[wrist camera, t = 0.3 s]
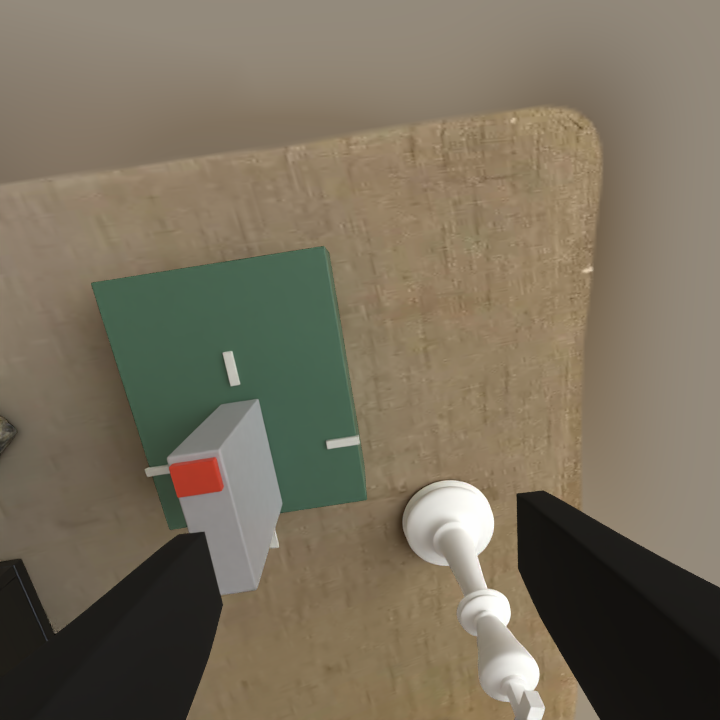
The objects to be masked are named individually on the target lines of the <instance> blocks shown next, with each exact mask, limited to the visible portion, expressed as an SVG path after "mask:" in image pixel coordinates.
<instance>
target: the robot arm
mask: <svg viewBox="0 0 720 720" xmlns="http://www.w3.org/2000/svg"><path fill="white" fill-rule="evenodd" d="M517 536H518V569H519V572H520V574H521V576H522V579H523V581H524V583H525V585H526V588H527V590H528V592H529V594H530V596H531V599H532V601H533V603H534V605H535V607H536V609H537V611H538V613H539V616H540V618H541V619H542V621H543V623H544V625H545V626H546V628H547V630H548V632H549V633H550V635H551V637H552V639H553V640H554V642H555V644H556V645H557V647H558V649H559V651H560V652H561V654H562V656H563V657H564V659H565V661H566V663H567V664H568V666H569V668H570V669H571V671H572V673H573V674H574V676H575V678H576V680H577V681H578V683H579V685H580V686H581V688H582V690H583V691H584V693H585V695H586V696H587V698H588V700H589V702H590V703H591V705H592V707H593V708H594V710H595V712H596V713H597V715H598V717H599V718H600V720H720V588H719V587H718V586H716V585H714V584H712V583H710V582H708V581H706V580H704V579H702V578H700V577H698V576H696V575H694V574H692V573H690V572H688V571H687V570H685V569H683V568H681V567H679V566H677V565H675V564H673V563H671V562H670V561H668V560H666V559H664V558H662V557H660V556H658V555H657V554H655V553H653V552H651V551H649V550H648V549H646V548H644V547H642V546H640V545H639V544H637V543H635V542H633V541H631V540H630V539H628V538H626V537H624V536H623V535H621V534H619V533H617V532H616V531H614V530H612V529H610V528H609V527H607V526H605V525H603V524H602V523H600V522H598V521H596V520H595V519H593V518H591V517H590V516H588V515H586V514H584V513H583V512H581V511H579V510H578V509H576V508H574V507H572V506H571V505H569V504H567V503H565V502H564V501H562V500H560V499H558V498H556V497H555V496H553V495H551V494H549V493H547V492H545V491H535V492H527V493H518V494H517ZM222 606H223V603H222V599H221V595H220V591H219V587H218V583H217V579H216V575H215V571H214V567H213V563H212V559H211V555H210V551H209V547H208V543H207V539H206V535H205V531H204V532H196V533H187V534H179V535H177V536H176V537H174V538H173V539H172V540H170V541H169V542H168V543H166V544H165V545H164V546H163V547H161V548H160V549H159V550H158V551H156V552H155V553H154V554H153V555H152V556H150V557H149V558H148V559H147V560H145V561H144V562H143V563H142V564H141V565H140V566H138V567H137V568H136V569H135V570H134V571H132V572H131V573H130V574H129V575H128V576H126V577H125V578H124V579H123V580H122V581H120V582H119V583H118V584H117V585H116V586H114V587H113V588H112V589H111V590H110V591H108V592H107V593H106V594H105V595H104V596H102V597H101V598H100V599H99V600H98V601H96V602H95V603H94V604H93V605H92V606H90V607H89V608H88V609H87V610H86V611H84V612H83V613H82V614H81V615H79V616H78V617H77V618H76V619H75V620H73V621H72V622H71V623H69V624H68V625H67V626H66V627H64V628H63V629H62V630H61V631H59V632H58V633H57V634H56V635H54V636H53V637H52V638H50V639H49V640H48V641H47V642H45V643H44V644H43V645H42V646H40V647H39V648H38V649H37V650H35V651H34V652H33V653H32V654H30V655H29V656H28V657H26V658H25V659H24V660H23V661H21V662H20V663H19V664H18V665H16V666H15V667H14V668H13V669H11V670H10V671H9V672H7V673H6V674H5V675H3V676H2V677H1V678H0V720H186V717H187V715H188V712H189V710H190V707H191V704H192V702H193V699H194V696H195V694H196V691H197V688H198V686H199V683H200V680H201V678H202V675H203V672H204V670H205V667H206V664H207V661H208V659H209V655H210V652H211V648H212V644H213V641H214V637H215V634H216V630H217V626H218V622H219V618H220V614H221V610H222Z"/></svg>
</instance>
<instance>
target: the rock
mask: <svg viewBox="0 0 720 720" xmlns="http://www.w3.org/2000/svg"><path fill="white" fill-rule="evenodd" d="M16 432H17V430H16V429H15V428H14V427H13V426H12V425H10V424H9V423H8V422H7V420H6V419H5V418H3V417H1V416H0V455H1V453H2V452H3V450H4V449H5V448H6V447H7V446H8V445H9V444H10V443H11V441H12V439H13V437H14V436H15V434H16Z"/></svg>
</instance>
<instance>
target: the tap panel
mask: <svg viewBox="0 0 720 720" xmlns="http://www.w3.org/2000/svg"><path fill="white" fill-rule="evenodd" d="M91 285H92V289H93V292H94V295H95V298H96V301H97V304H98V307H99V310H100V314H101V317H102V320H103V323H104V326H105V329H106V332H107V336H108V339H109V342H110V345H111V348H112V351H113V354H114V357H115V361H116V364H117V367H118V370H119V373H120V376H121V379H122V382H123V386H124V389H125V392H126V395H127V398H128V401H129V404H130V408H131V411H132V414H133V417H134V420H135V423H136V426H137V429H138V433H139V436H140V439H141V442H142V445H143V448H144V451H145V455H146V458H147V461H148V464H149V468H146V469H145V472H146V475H147V477H150V476H153V480H154V483H155V486H156V489H157V492H158V495H159V498H160V502H161V505H162V508H163V511H164V514H165V517H166V520H167V523H168V527H169V529H170V530H173V529H179V528H186V527H187V524H186V521H185V518H184V514H183V511H182V508H181V504H180V501H179V498H178V497H177V494H176V491H175V487H174V484H173V481H172V478H171V474H170V471H169V465H168V462H167V457H168V456H169V455H170V454H171V453H172V452H173V451H174V450H175V449H176V448H177V447H178V446H179V445H180V444H181V443H182V442H183V441H184V440H185V439H186V438H187V437H188V436H189V435H190V434H191V433H192V432H193V431H194V430H195V429H197V428H198V427H199V426H200V425H201V424H202V423H203V422H204V421H205V420H206V419H207V418H208V417H209V416H210V415H211V414H212V413H213V412H214V411H215V410H216V409H217V408H218V407H219V406H220V405H221V404H227V403H233V402H240V401H246V400H253V399H258V400H259V404H260V408H261V412H262V417H263V421H264V425H265V430H266V434H267V438H268V443H269V447H270V451H271V456H272V460H273V464H274V469H275V473H276V477H277V482H278V486H279V490H280V495H281V499H282V503H283V504H282V507H281V510H280V513H284V512H291V511H298V510H304V509H311V508H317V507H324V506H330V505H337V504H343V503H350V502H357V501H363V500H367V492H366V479H365V466H364V460H363V454H362V448H361V442H360V436H359V430H358V424H357V418H356V412H355V406H354V400H353V394H352V388H351V382H350V376H349V370H348V363H347V357H346V351H345V345H344V339H343V333H342V327H341V321H340V315H339V309H338V303H337V297H336V291H335V285H334V279H333V273H332V267H331V261H330V255H329V252H328V251H327V249H326V248H325V247H324V246H321V247H315V248H308V249H302V250H296V251H289V252H283V253H277V254H270V255H264V256H258V257H251V258H245V259H239V260H232V261H226V262H220V263H213V264H207V265H201V266H194V267H188V268H182V269H175V270H169V271H163V272H156V273H150V274H144V275H137V276H131V277H125V278H119V279H112V280H106V281H100V282H93V283H91ZM270 547H271V549H272V548H278V547H279V543H278V539H277V535H276V530H275V531H274V534H273V537H272V541H271V544H270Z"/></svg>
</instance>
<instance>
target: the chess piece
mask: <svg viewBox="0 0 720 720" xmlns="http://www.w3.org/2000/svg"><path fill="white" fill-rule="evenodd" d="M493 530H494V518H493V514H492V511H491V509H490V505H489V503H488V501H487V499H486V498H485V496H484V495H483V494H482V493H481V492H480V491H479V490H478V489H477V488H475V487H474V486H472V485H470V484H468V483H465V482H461V481H455V480H446V481H439V482H435V483H432V484H430V485H428V486H426V487H424V488H422V489H421V490H420V491H418V492H417V493H416V494H415V495H414V496H413V497H412V498H411V499H410V501H409V502H408V504H407V506H406V508H405V511H404V514H403V531H404V534H405V536H406V538H407V541H408V543H409V545H410V547H411V548H412V550H413V551H414V552H415V553H416V554H417V555H418V556H419V557H420V558H422V559H423V560H425V561H427V562H430V563H432V564H436V565H442V566H450V568H451V570H452V572H453V574H454V576H455V578H456V580H457V582H458V584H459V586H460V588H461V590H462V592H463V594H464V596H465V597H464V598H463V599H462V600H461V601H460V603H459V605H458V608H457V618H458V621H459V622H460V624H461V625H462V627H463V628H464V629H465V631H467V632H468V633H469V634H471V635H474V636H477V646H478V673H479V680H480V684H481V686H482V688H483V690H484V691H485V692H486V693H487V694H488V695H489V696H490V697H492V698H494V699H496V700H499V701H505V702H510V703H511V706H512V709H513V711H514V714H515V719H514V720H541V719H542V716H543V713H544V710H545V706H544V704H543V702H542V700H541V698H540V695H539V693H538V691H533V690H534V689H535V687H536V686H537V683H538V681H539V668H538V665H537V663H536V662H535V660H534V659H533V657H532V656H531V655H530V653H529V652H528V651H527V650H526V649H525V648H524V647H523V646H522V645H521V644H520V643H519V642H518V640H517V639H516V638H515V637H514V636H513V634H512V633H511V631H510V630H509V629H508V628H507V627H506V626H507V624H508V622H509V620H510V616H511V612H510V605H509V602H508V600H507V598H506V597H505V596H504V595H503V594H502V593H500V592H498V591H496V590H493V589H487V586H486V583H485V580H484V577H483V574H482V570H481V567H480V564H479V560H478V557H477V555H479V554H480V553H481V552H482V551H483V550H484V549H485V547H486V546H487V545H488V543H489V541H490V539H491V537H492V534H493Z"/></svg>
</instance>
